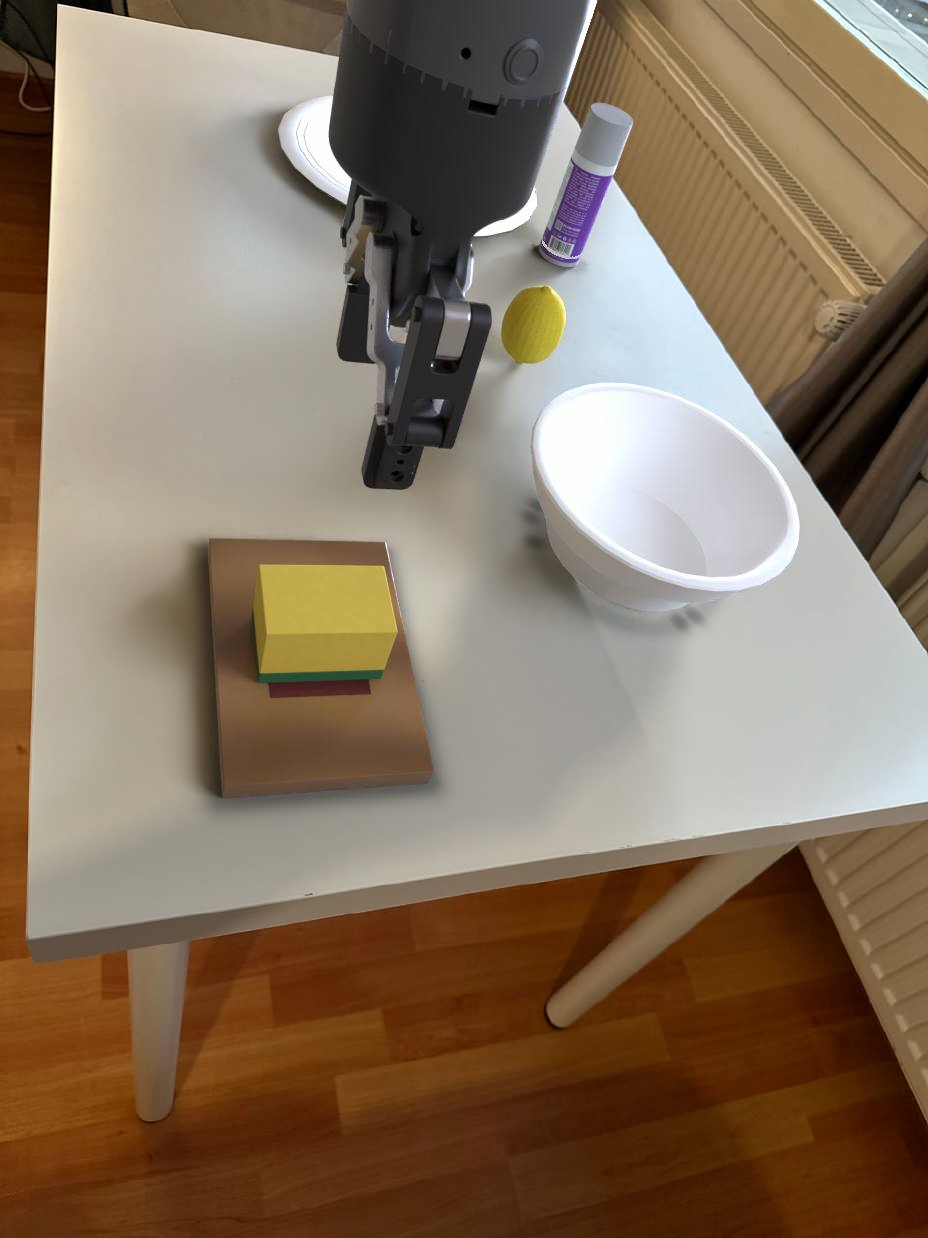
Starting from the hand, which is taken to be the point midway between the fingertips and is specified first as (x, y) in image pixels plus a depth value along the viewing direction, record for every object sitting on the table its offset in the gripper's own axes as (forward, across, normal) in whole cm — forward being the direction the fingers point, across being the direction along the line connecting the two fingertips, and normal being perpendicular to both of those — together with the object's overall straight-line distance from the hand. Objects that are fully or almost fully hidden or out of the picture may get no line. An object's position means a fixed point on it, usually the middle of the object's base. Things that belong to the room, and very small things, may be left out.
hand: (370, 417), depth 40 cm
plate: (+20, -65, +18) cm, 70 cm away
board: (+20, 0, 0) cm, 20 cm away
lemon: (+20, -33, +23) cm, 45 cm away
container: (+20, -53, +33) cm, 66 cm away
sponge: (+18, 0, 0) cm, 18 cm away
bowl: (+20, -10, +26) cm, 34 cm away
